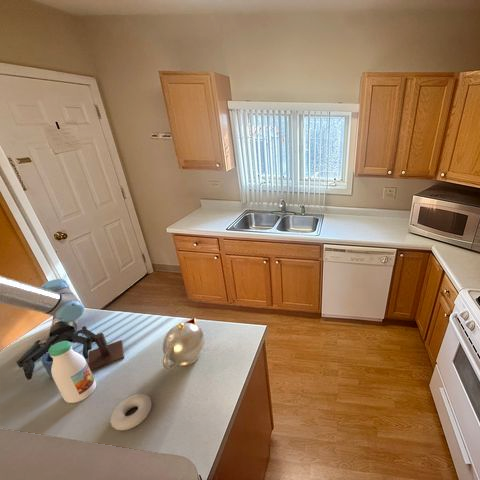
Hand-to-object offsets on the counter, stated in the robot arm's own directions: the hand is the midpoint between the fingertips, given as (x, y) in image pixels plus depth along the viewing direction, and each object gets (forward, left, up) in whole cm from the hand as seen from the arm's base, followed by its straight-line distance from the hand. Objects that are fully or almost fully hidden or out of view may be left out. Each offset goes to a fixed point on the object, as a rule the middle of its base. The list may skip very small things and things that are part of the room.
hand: (57, 366), depth 83 cm
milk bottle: (+7, -8, -6) cm, 12 cm away
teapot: (+37, -6, -6) cm, 38 cm away
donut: (+24, -22, -6) cm, 33 cm away
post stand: (+10, +6, -6) cm, 13 cm away
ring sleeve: (-1, +3, -6) cm, 7 cm away
